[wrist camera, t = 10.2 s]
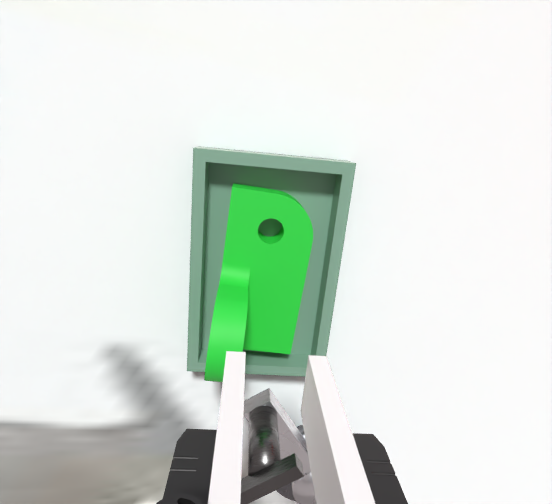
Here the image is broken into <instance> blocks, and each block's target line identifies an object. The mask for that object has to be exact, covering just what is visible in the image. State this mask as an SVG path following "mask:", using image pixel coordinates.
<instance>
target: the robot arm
mask: <svg viewBox="0 0 552 504" xmlns="http://www.w3.org/2000/svg"><path fill="white" fill-rule="evenodd" d="M245 356H246V352H234V351H226V359H225V367H224V376H223V384H222V392H221V400H220V408H219V416H218V424H217V430H203V429H186V431H185V432H184V433H183V434H182V436H181V437H180V438H179V440H178V441H177V444H176V448H175V452H174V456H173V460H172V464H171V468H170V472H169V476H168V480H167V484H166V488H165V492H164V496H163V499H162V500H160V501H159V502H157V503H156V504H240V499H241V471H242V442H243V413H244V385H245ZM301 416H302V422H303V428H304V433H305V439H306V445H307V451H308V457H309V463H310V469H311V475H312V480H313V486H314V492H315V498H316V504H408V503H407V500H406V498H405V496H404V493H403V491H402V488H401V486H400V484H399V481H398V479H397V476H395V472H394V469H393V467H392V464H390V460H389V457H388V455H387V452H386V450H385V448H384V446H383V445H382V444H381V443H380V442H379V440H378V439H377V438H376V437H375V436H374V435H373V434H352V431H351V428H350V425H349V422H348V419H347V416H346V413H345V410H344V407H343V404H342V401H341V398H340V394H339V391H338V388H337V385H336V382H335V379H334V376H333V373H332V370H331V367H330V364H329V361H328V358H327V356H312V355H308V362H307V369H306V376H305V384H304V391H303V398H302V405H301Z"/></svg>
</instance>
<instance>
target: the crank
mask: <svg viewBox="0 0 552 504" xmlns="http://www.w3.org/2000/svg"><path fill="white" fill-rule="evenodd" d="M244 416H245V417H246V419H247V420H248V422H249V469H248V476H247V477H245V478H243V479H241V499H240V504H248V503H250V502H252V501H254V500H256V499H259V498H261V497H263V496H265V495H267V494H269V493H271V492H273V491H275V490H277V489H279V488H281V487H283V486H285V485H288V484H290V483H292V490H293V496H294V499H295V500H296V501H297V502H298V503H299V504H316V498H315V492H314V486H313V480H312V475H311V469H310V463H309V457H308V451H307V445H306V440H305V439H304V437H303V436H302V434H301V433H300V431H299V430H298V428H297V427H296V426H295V424H294V423H293V421H292V420H291V418H290V417H289V416H288V414H287V413H286V411H285V410H284V408H283V407H282V405H281V404H280V403H279V401H278V400H277V398H276V397H275V395H274V394H273V393H272V391H271V390H270V388H268V389H266V390H264V391H262V392H260V393H259V394H257V395H255V396H253V397H251V398H249V399H247V400H245V401H244Z"/></svg>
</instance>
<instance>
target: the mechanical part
mask: <svg viewBox="0 0 552 504" xmlns="http://www.w3.org/2000/svg"><path fill="white" fill-rule="evenodd" d="M270 218H272V219H276V220H278V221H279V222H281V224H282V227H281V230H280V231H279V233H278V234H276V235H274V236H265V235H263V234H262V233H261V232H260V231H259V229H258V227H259V225H260V224H261V222H262V221H264V220H266V219H270ZM312 242H313V228H312V223H311V220H310V218H309V216H308V214H307V213H306V211H305V210H304V208H303V207H302V205H301V204H300V203H299V202H298V201H297V200H296V199H295V198H294V197H292V196H291V195H289V194H288V193H285V192H283V191H280V190H275V189H268V188H262V187H255V186H249V185H243V184H236V183H233V186H232V191H231V199H230V207H229V215H228V223H227V231H226V239H225V246H224V254H223V262H222V270H221V276H220V282H219V287H218V291H217V296H216V301H215V306H214V312H213V318H212V324H211V330H210V337H209V344H208V351H207V359H206V367H205V379H204V380H206V381H216V382H223V376H224V367H225V359H226V351H234V352H243V349H246V350H255V351H264V352H273V353H282V354H290V353H291V348H292V343H293V338H294V333H295V328H296V323H297V318H298V313H299V308H300V303H301V298H302V293H303V288H304V283H305V278H306V273H307V268H308V263H309V258H310V253H311V248H312Z"/></svg>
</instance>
